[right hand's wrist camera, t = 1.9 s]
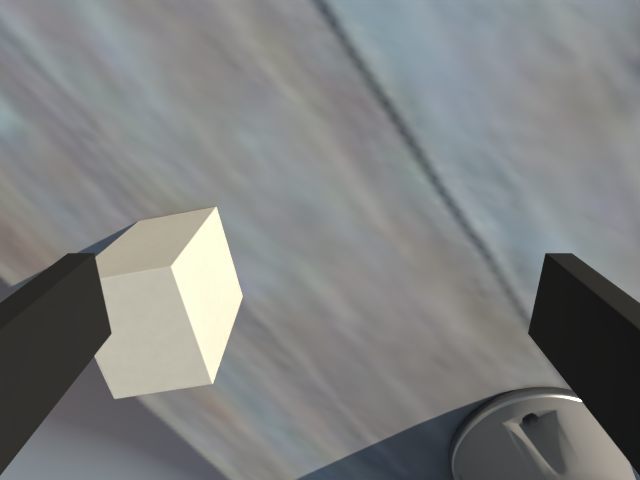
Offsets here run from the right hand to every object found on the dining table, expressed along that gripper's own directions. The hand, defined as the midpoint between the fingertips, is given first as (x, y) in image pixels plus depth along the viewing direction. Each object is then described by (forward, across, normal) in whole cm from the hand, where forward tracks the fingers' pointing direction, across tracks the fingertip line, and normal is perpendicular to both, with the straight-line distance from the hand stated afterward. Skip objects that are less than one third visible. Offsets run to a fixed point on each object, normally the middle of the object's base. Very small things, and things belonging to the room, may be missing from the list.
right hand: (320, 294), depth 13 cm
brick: (+20, +10, +8) cm, 23 cm away
